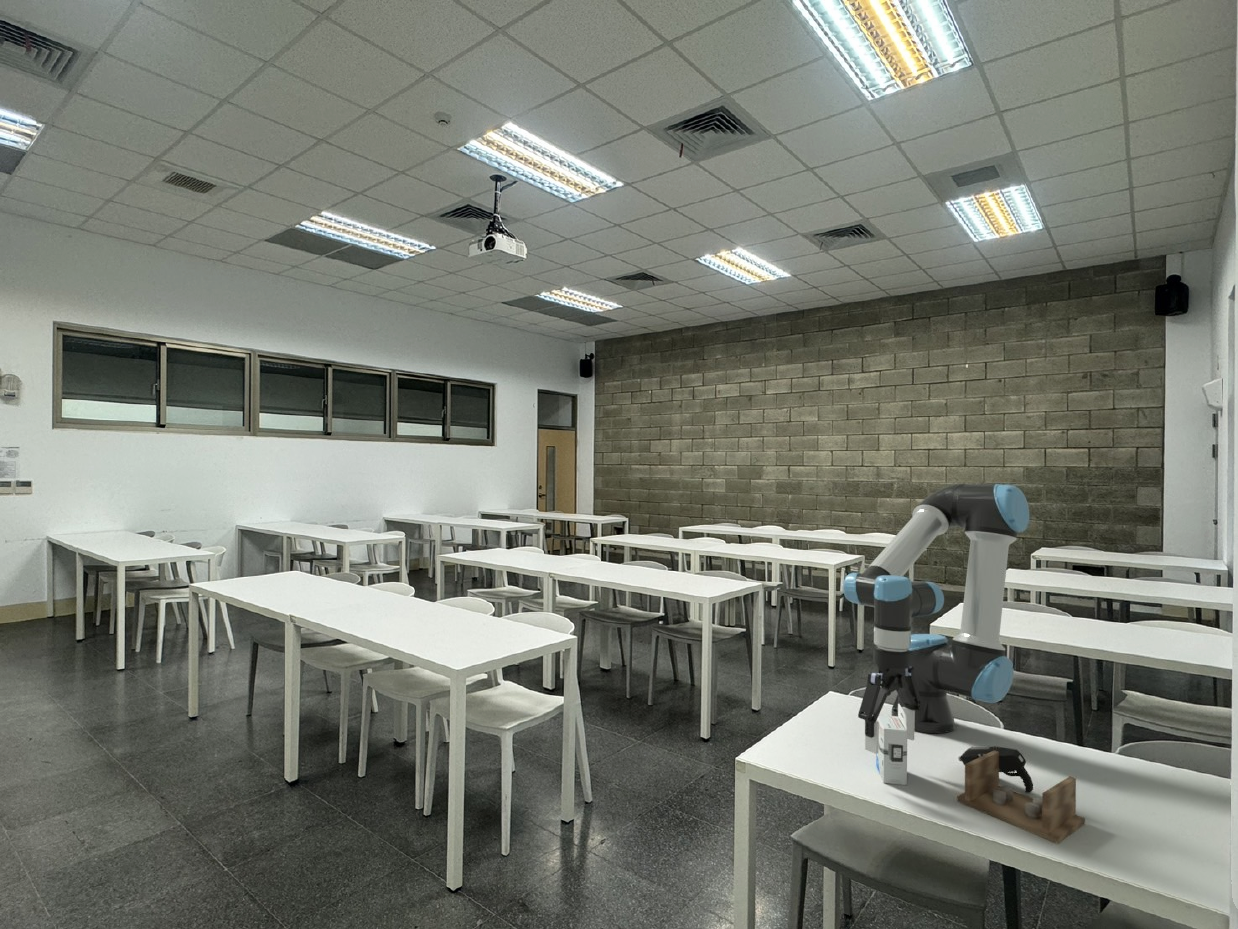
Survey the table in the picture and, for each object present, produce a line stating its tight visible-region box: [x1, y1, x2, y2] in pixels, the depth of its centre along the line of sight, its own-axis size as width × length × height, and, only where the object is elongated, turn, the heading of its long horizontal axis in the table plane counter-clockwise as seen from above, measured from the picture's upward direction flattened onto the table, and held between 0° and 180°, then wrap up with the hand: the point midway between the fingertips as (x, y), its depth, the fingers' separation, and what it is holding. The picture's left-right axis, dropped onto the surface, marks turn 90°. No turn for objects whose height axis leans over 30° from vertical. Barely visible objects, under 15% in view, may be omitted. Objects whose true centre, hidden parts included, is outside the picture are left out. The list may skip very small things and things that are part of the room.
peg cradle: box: [956, 750, 1086, 844], centre depth 127 cm, size 12×18×8 cm, turn 35°
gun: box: [958, 745, 1034, 793], centre depth 140 cm, size 3×16×10 cm
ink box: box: [875, 704, 908, 786], centre depth 142 cm, size 9×5×15 cm, turn 168°
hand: (890, 744), depth 142 cm, fingers open, 13 cm apart
